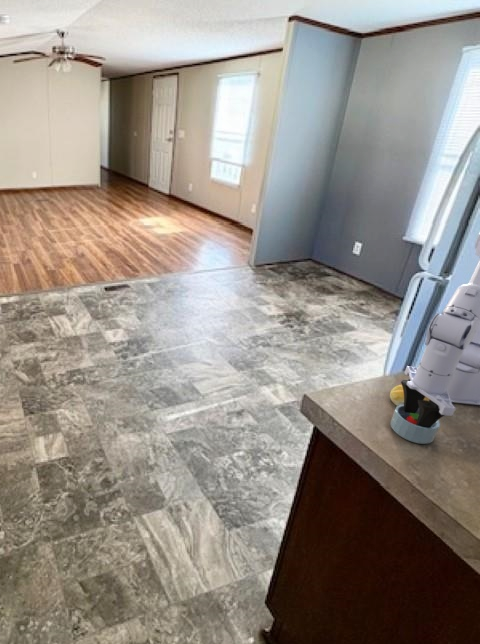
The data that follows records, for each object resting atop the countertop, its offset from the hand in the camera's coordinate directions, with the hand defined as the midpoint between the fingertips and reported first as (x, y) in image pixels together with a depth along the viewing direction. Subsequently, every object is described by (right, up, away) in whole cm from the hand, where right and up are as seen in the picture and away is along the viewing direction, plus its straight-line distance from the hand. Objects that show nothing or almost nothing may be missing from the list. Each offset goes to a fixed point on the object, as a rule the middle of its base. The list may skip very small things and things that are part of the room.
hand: (415, 420), depth 93 cm
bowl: (0, -3, +1) cm, 3 cm away
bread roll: (+7, +1, +11) cm, 13 cm away
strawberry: (0, -3, +1) cm, 3 cm away
